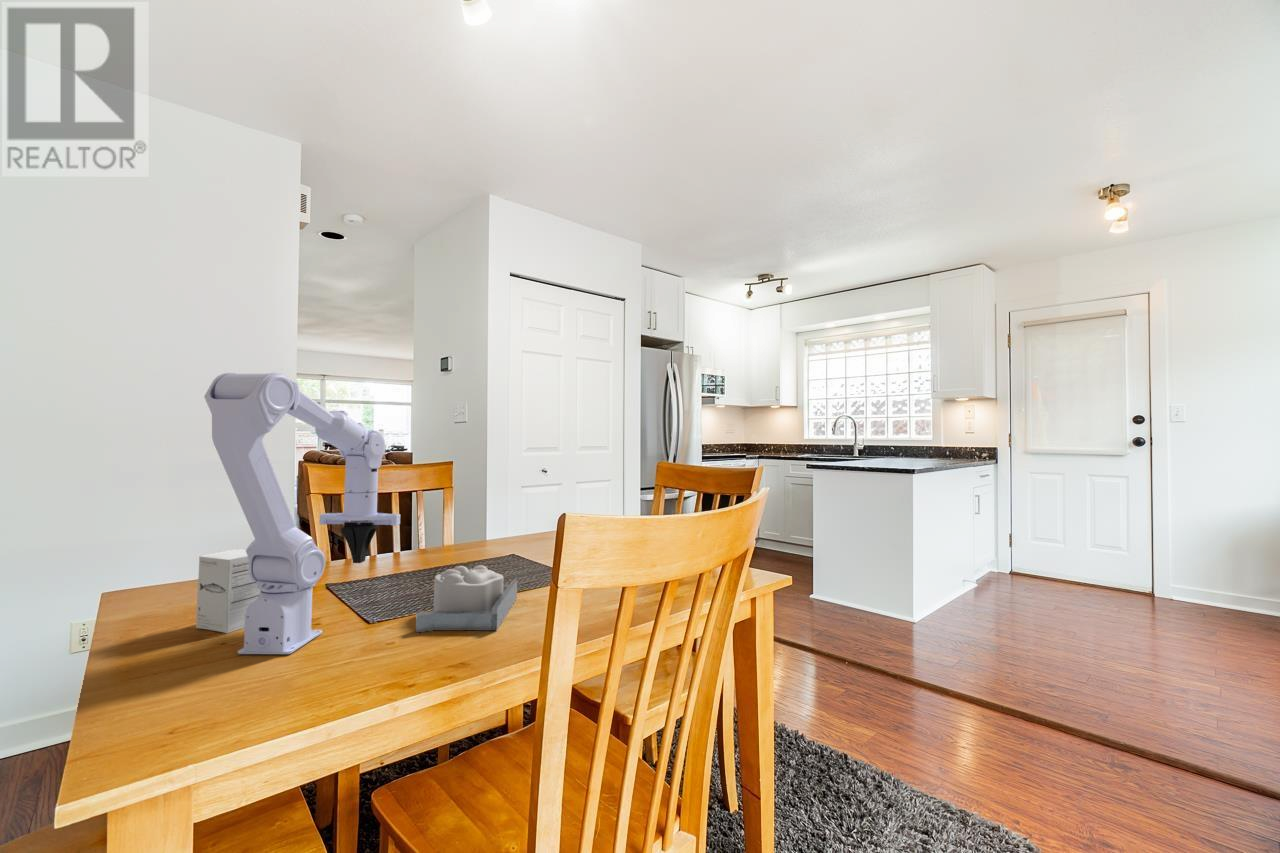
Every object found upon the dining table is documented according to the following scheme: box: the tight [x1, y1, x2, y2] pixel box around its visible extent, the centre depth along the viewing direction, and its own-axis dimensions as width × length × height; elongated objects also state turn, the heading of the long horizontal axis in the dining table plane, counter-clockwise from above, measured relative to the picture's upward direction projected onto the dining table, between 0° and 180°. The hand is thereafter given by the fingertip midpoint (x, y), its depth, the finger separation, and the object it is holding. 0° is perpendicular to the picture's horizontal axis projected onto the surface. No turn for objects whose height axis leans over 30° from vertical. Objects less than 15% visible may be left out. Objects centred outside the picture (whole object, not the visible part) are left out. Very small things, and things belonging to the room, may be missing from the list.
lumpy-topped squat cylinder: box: [432, 564, 504, 612], centre depth 104 cm, size 10×13×9 cm
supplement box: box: [195, 548, 260, 634], centre depth 95 cm, size 7×7×13 cm
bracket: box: [415, 579, 518, 634], centre depth 104 cm, size 21×14×4 cm, turn 2°
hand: (358, 562), depth 104 cm, fingers closed
